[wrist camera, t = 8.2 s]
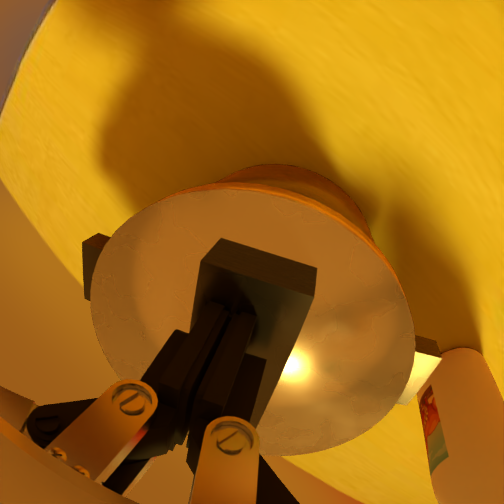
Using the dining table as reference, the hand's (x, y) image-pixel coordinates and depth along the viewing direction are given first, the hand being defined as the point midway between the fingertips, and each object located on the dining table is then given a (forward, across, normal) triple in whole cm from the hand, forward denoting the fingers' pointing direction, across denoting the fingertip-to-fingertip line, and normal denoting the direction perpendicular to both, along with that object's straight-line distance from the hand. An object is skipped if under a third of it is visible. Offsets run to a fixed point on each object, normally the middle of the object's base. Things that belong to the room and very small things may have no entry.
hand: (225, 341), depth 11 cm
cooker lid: (+4, -1, +4) cm, 5 cm away
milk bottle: (+14, -21, +9) cm, 26 cm away
